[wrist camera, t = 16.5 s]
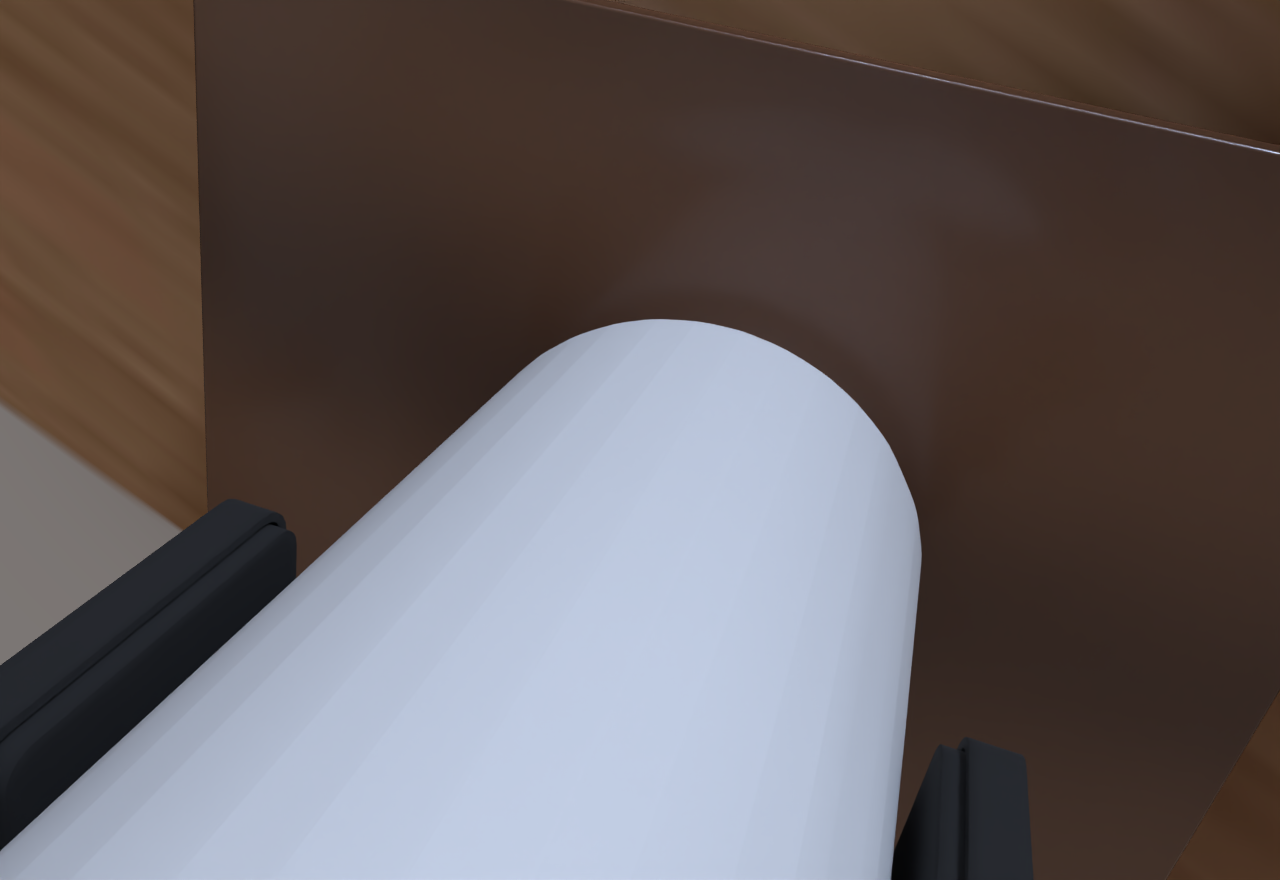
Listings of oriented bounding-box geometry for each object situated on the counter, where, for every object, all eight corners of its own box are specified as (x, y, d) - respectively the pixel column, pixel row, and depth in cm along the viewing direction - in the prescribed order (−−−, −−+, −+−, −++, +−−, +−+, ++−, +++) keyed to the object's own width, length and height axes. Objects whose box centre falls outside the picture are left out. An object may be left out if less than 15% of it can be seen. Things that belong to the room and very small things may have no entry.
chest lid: (223, -83, 14) (189, -85, 13) (1536, 199, 11) (1568, 213, 11) (234, 618, 20) (210, 640, 19) (1113, 925, 17) (1118, 962, 16)
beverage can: (1028, 497, 13) (1205, 2373, 3) (744, 764, 17) (354, 2123, 6) (632, 202, 13) (-599, 1096, 3) (422, 527, 17) (-527, 1512, 6)
